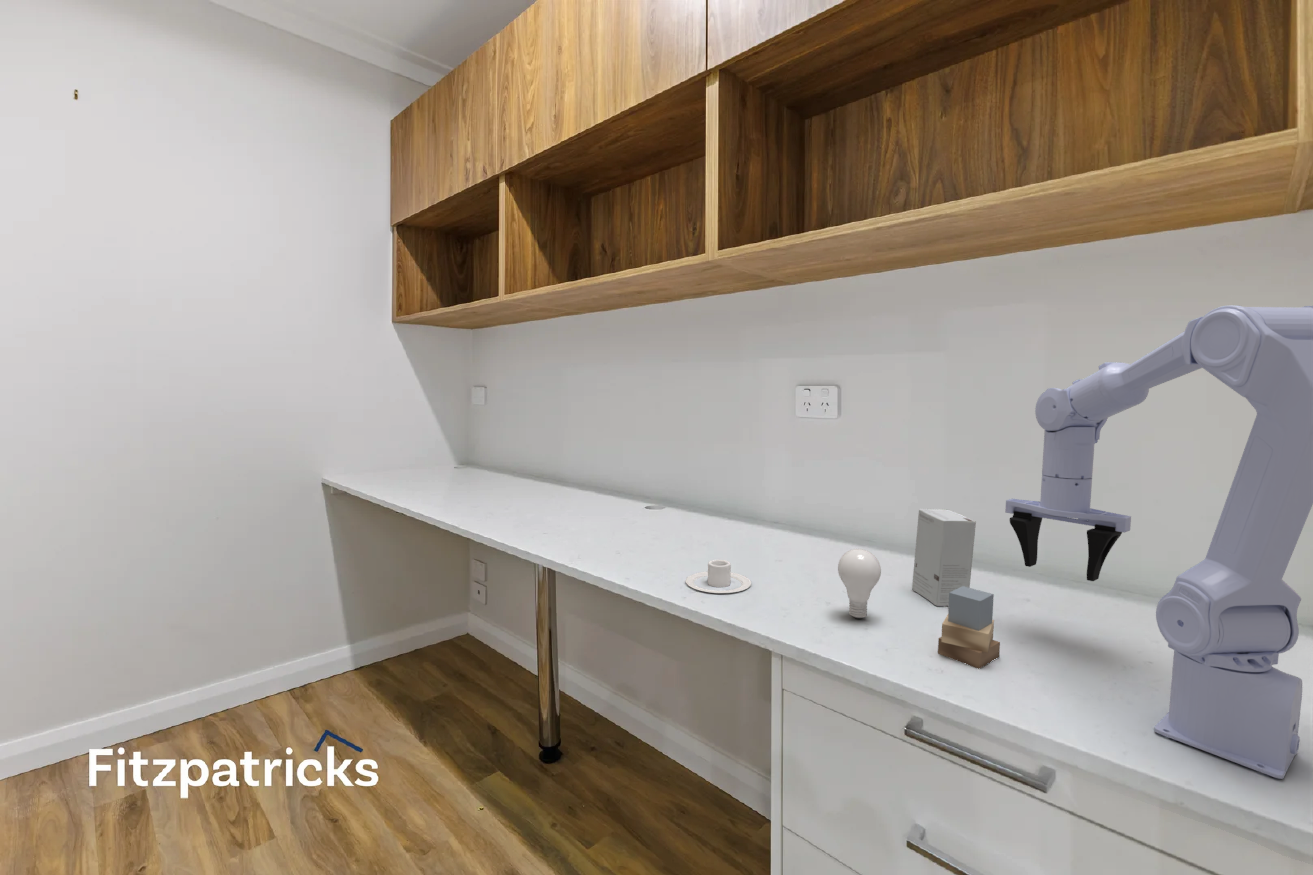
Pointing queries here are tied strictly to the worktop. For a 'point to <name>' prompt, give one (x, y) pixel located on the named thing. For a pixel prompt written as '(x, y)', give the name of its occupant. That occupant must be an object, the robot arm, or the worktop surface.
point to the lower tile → (969, 653)
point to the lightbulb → (859, 579)
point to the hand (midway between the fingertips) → (1060, 572)
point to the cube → (970, 608)
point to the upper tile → (967, 636)
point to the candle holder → (719, 577)
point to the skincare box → (942, 554)
